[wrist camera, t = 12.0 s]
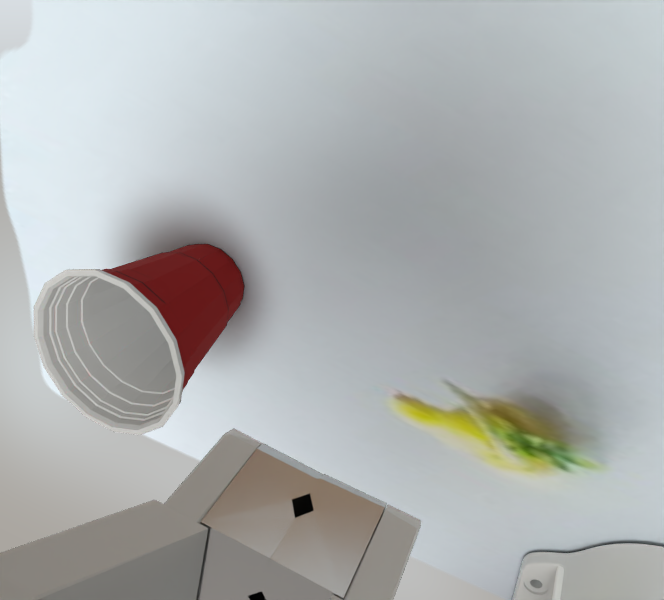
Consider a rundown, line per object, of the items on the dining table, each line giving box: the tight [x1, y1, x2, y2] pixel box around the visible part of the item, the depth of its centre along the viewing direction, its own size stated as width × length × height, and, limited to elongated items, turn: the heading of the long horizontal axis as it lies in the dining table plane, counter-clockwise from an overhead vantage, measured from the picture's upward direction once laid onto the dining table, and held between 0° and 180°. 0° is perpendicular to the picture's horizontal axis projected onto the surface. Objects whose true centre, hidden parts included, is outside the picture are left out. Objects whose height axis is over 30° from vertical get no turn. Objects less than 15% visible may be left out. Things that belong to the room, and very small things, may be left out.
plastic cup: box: [34, 244, 244, 435], centre depth 42 cm, size 11×11×12 cm
